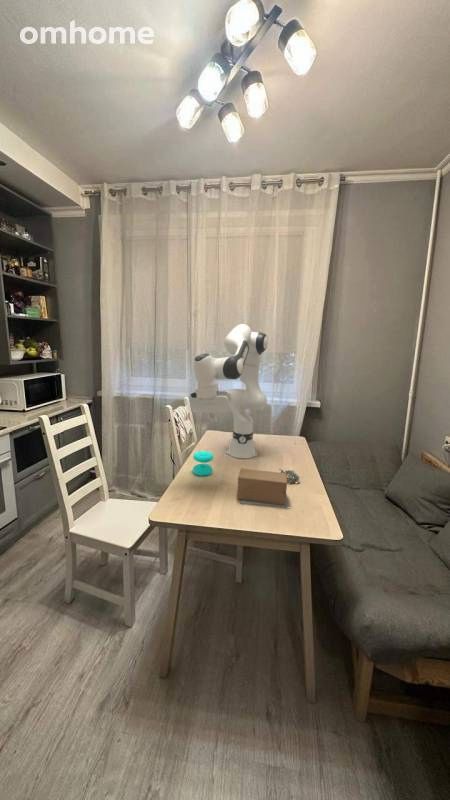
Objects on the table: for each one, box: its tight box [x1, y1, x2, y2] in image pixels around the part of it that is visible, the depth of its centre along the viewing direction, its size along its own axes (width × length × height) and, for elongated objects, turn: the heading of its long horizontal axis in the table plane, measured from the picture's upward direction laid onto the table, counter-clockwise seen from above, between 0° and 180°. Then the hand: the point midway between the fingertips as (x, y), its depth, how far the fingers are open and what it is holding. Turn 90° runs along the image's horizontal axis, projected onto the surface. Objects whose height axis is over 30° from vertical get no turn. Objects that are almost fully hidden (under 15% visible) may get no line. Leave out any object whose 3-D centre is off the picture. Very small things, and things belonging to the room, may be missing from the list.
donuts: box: [192, 450, 214, 477], centre depth 155 cm, size 10×10×10 cm
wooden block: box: [236, 468, 288, 505], centre depth 132 cm, size 10×10×20 cm
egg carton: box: [279, 468, 301, 484], centre depth 153 cm, size 11×8×4 cm
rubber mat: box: [240, 493, 291, 508], centre depth 133 cm, size 14×20×1 cm
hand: (214, 421), depth 138 cm, fingers closed
